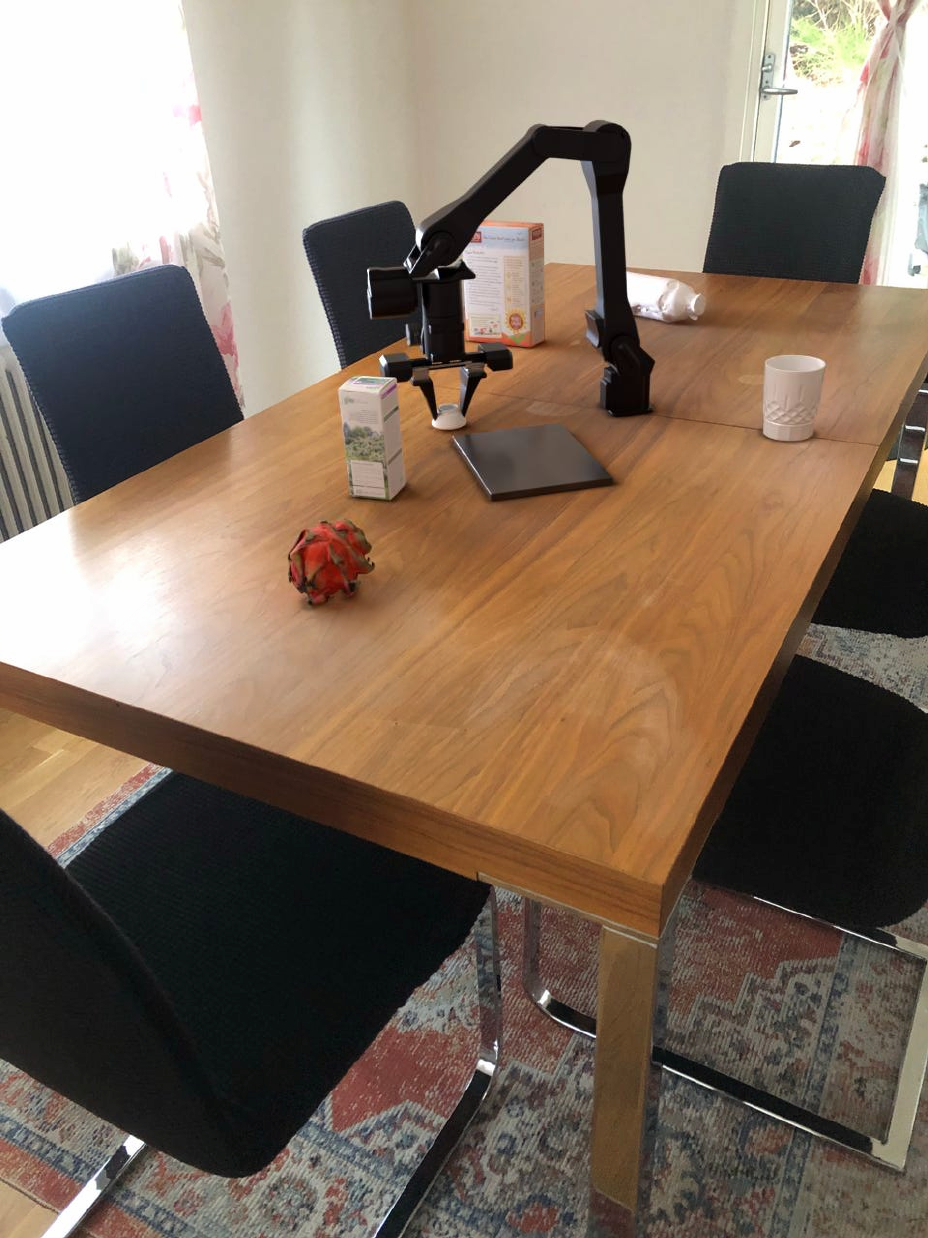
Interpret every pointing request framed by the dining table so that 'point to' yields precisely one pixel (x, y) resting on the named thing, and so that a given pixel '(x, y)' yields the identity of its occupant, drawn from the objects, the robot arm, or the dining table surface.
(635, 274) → the white bottle
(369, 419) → the syrup box
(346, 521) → the dragon fruit
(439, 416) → the lidless jar
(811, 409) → the white cup
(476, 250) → the cracker box
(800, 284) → the dining table surface
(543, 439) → the serving board
